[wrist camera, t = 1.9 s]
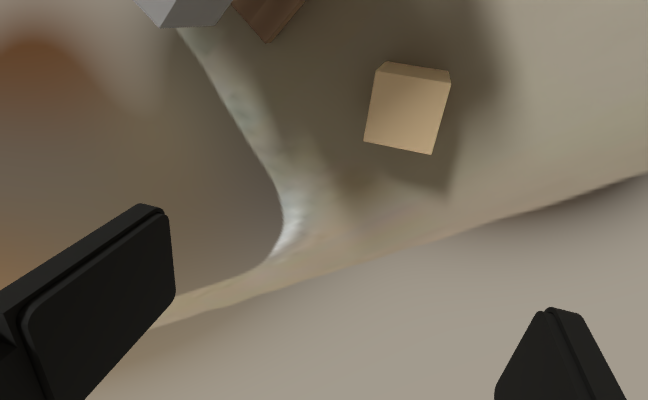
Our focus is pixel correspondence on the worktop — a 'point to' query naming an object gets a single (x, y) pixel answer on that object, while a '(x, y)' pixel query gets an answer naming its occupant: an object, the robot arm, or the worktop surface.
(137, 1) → the trapdoor
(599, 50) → the worktop surface
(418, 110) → the tan block
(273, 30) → the stand
